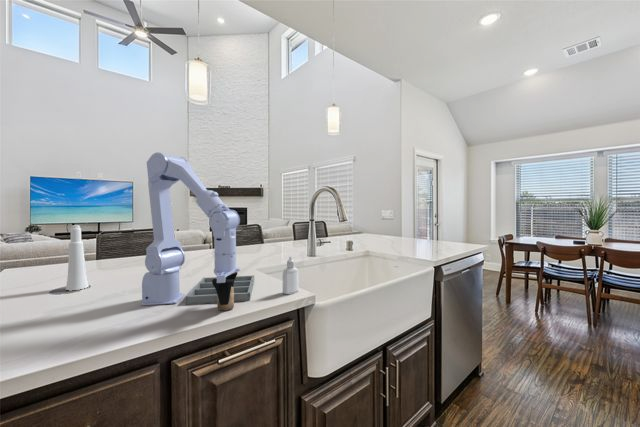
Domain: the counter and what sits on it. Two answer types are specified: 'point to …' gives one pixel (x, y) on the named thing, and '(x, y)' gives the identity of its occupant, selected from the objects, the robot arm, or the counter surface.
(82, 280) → the cosmetic bottle
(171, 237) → the robot arm
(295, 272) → the eye dropper bottle
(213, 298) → the grey compartment tray
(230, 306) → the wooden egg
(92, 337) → the counter surface
